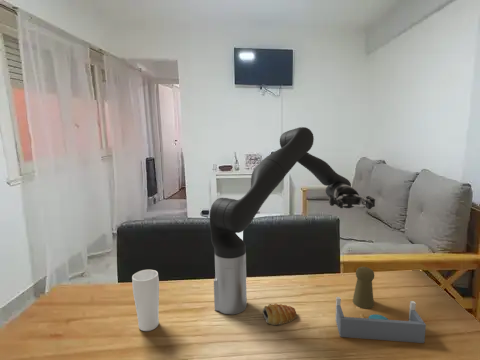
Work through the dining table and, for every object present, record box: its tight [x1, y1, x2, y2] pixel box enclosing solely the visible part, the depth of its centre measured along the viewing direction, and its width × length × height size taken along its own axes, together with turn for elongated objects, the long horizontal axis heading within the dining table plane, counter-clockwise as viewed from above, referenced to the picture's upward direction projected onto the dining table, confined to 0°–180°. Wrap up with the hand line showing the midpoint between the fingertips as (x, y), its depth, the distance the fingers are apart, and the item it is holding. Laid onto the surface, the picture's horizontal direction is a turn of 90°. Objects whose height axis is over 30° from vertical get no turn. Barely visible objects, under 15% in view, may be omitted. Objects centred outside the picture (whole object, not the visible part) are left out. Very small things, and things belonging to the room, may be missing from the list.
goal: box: [335, 296, 427, 344], centre depth 78 cm, size 20×7×7 cm, turn 82°
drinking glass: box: [131, 269, 160, 332], centre depth 81 cm, size 7×7×15 cm
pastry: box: [262, 303, 297, 326], centre depth 85 cm, size 9×7×4 cm
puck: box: [368, 313, 389, 320], centre depth 79 cm, size 5×5×3 cm
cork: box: [352, 266, 375, 309], centre depth 91 cm, size 6×6×11 cm
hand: (355, 205), depth 95 cm, fingers open, 8 cm apart
